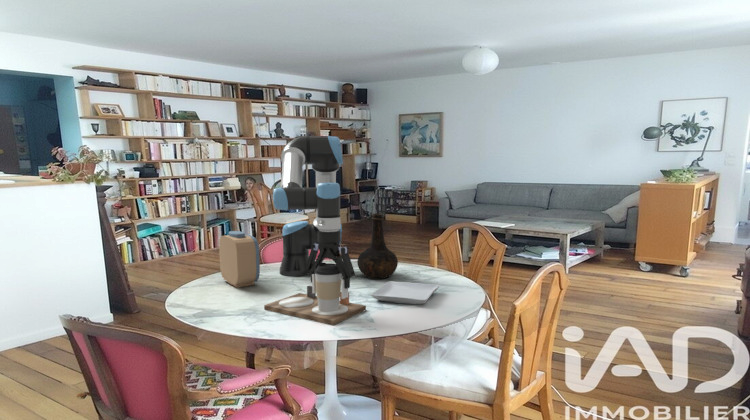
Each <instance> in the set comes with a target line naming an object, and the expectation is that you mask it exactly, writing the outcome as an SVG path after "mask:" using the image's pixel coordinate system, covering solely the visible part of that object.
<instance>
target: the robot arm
mask: <svg viewBox="0 0 750 420" xmlns="http://www.w3.org/2000/svg"><path fill="white" fill-rule="evenodd" d="M341 144H342V143H341V139H340V138H339V137H338V136H333V135H332V136H331V135H320V136H319V135H317V136H315V135H313V136H311V135H309V136H308V135H302V136H297V137H295V138H293V139H292V140H290V141H289V142H288V143H287V144H285V146H284V147H283V149H282V151H281V153H280V160H281V163H282V168H281V169H282V170H281V179H280V187H276V188H274V189H273V193H272V198H273V199H272V201H273V208H274V209H275V210H279V211H281V210H283V211H290V210H293V211H295V210H315V211H316V214H315V216H316V218H314V219H313V222H312V223H310V224H309V221H307V220H300V221H299V220H298V221H292V222H288V223H286V224H284V225H283V227H282V234H281V236H282V259H281V264H280V266H279V274H280V275H282V276H286V277H299V276H308V275H310V283H311V286H312V293H316V294H317V292H316V282H315V279H316V277H315V273H314V272H315V269H316V268H317V267H318V265H319V264H320V263H324V261H325V259H329V260H332V261H333V262H334V264H336V265H337V267H338V269H339V271H340V273H341V299H345V298H347V297H348V293H349V289H350V287H351V278H354V277H356V272H355V269H354V266H353V263H352V260H351V257H350V254H349V247H348V246H341V243H342V235H343V234H342V233H343V225H342V223H341V222H342V221H341V187H340V186H341V185H340V184H339V183H338V182H337V180H336V179H337V171H339V169H340V166H341V165H343V164H344V161H343V153H342V151H343V150H342V145H341ZM304 165H311V169H312V170H313V171H314V172H315V187H303V167H304Z"/></svg>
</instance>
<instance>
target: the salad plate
mask: <svg viewBox="0 0 750 420" xmlns="http://www.w3.org/2000/svg"><path fill="white" fill-rule="evenodd" d="M439 288H440V284H433V283H423V282H422V283H421V282H420V283H419V282H407V281H391V280H388V281H387V282H385V283H384V284H382V285H381V286H379V287H378V288H377V289H376V290H374V291H373V292H372V293H370V296H371V297H372V298H373V299H375V300H378V301H381V302H390V303H396V304H397V303H398V304H407V305H422V304H423V305H424V304H425V303H427V301H428V300H429V298H430V297H431V296H432V295H433V294H434V293H435V292H436V291H437V290H438V289H439Z"/></svg>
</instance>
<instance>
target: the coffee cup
mask: <svg viewBox="0 0 750 420" xmlns="http://www.w3.org/2000/svg"><path fill="white" fill-rule="evenodd" d="M314 273H315V277H316V279H315V282H316V292H317V293H316V296H317V299H318V309H319V310H320V311H323V312H332V311H336V310H338V309H339V301H340V292H341V279H342V274H341V273H340V271H339V269H338V267H337V265H336V263H331V262H330V263H327V262H322V263H320V264H319V265H318V267H317V268H316V269H315V272H314Z"/></svg>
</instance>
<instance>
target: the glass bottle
mask: <svg viewBox="0 0 750 420" xmlns="http://www.w3.org/2000/svg"><path fill="white" fill-rule="evenodd" d="M371 216H372V217H371V218H370V220H372V225H371V226H372V227H371V238H370V239H371V241H370V247H368V248H366V249H365V250H363V251H362V252H361V253H359V255H358V257H357V267H358V269H359V271H360V272H361V273H362V275H363V276H365V277H367V278H368V279H373V280H377V279H379V280H380V279H381V280H382V279H386V278H388V277H391V276H392V275H393V274H394V273H395V272H396V270H397V268H398V266H399V265H398V264H399V263H398V262H399V261H398V257H397V255H396V254H395V252H394V251H392V250H391V249H389V248H388V247H387V245H386V241H385V234H384V226H383V225H384V224H383V221H384V220H385V218H384V217H383V214H382V213H372V214H371Z"/></svg>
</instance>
